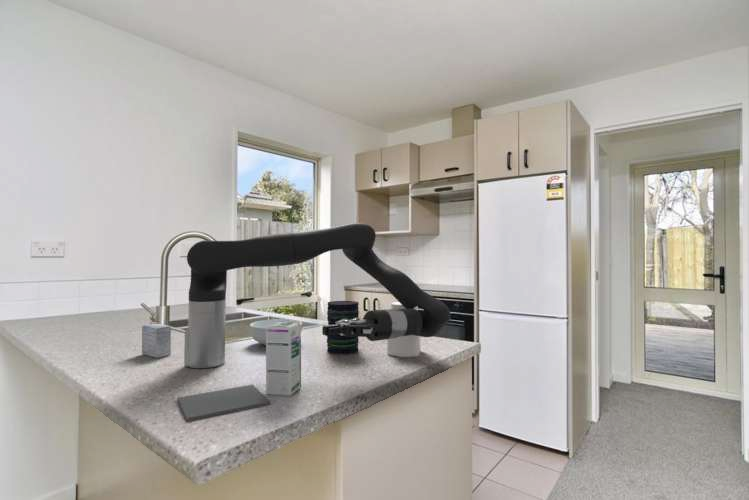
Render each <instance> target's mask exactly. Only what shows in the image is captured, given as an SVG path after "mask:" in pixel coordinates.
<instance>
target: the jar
mask: <svg viewBox="0 0 749 500" xmlns="http://www.w3.org/2000/svg"><path fill="white" fill-rule="evenodd" d="M390 309H406V308H405V307H404V306H403V305H402V304H401V303H400V302H399V301H395V302H391V303H390ZM414 309H416V310H417V311H419V307H418V306H416V307H415V308H414ZM386 347H387V348H386V354H387V355H389V356H393V357H399V358H400V357H401V358H411V357H412V358H413V357H419V356H420V352H421V351H422V349H421V336H415V335H408V336H401V337H397V338H393V339H387V346H386Z"/></svg>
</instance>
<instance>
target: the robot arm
mask: <svg viewBox="0 0 749 500" xmlns="http://www.w3.org/2000/svg"><path fill="white" fill-rule="evenodd" d="M376 237H377V234H376V231H375V229H374V228H373V227H372V226H371V225H369V224H367V223H363V222H351V223H348V224H347V223H346V224H344V225H343V224H342V225H337V226H332V227H327V228H320V229H311V230H302V231H289V232H281V233H280V232H278V233H272V234H266V235H260V236H256V237H252V238H251V237H250V238H247V239H241V240H238V239H237V240H211V239H209V240H207V239H205V240H200V241H197V242H196V243H194V244H193V245H192V246H191V247H190V248H189V249H188V251H187V254H186V255H187V256H186V261H187V265H188V266H189V268H190V284H189V289H188V310H187V311H188V316H187V317H188V321H187V326H188V328H187V329H185V330H184V352H183V353H184V354H183V355H184V359H183V361H184V362H183V364H184V365H183V366H184V367H188V368H191V369H209V368H215V367H218V366H219V367H220V366H222V365H223V364H225V361H226V299H227V298H226V297H227V285H228V283H227V281H228V278H227V277H228V276H227V274H228V273H227V272H228V271H231V270H236V269H241V268H250V267H251V268H253V267H254V268H255V267H256V268H257V267H259V268H265V267H266V268H267V267H269V268H271V267H283V266H292V265H299V264H302V263H305V262H308V261H310V260H313V259H315V258H317V257H318V256H321V255H322V254H325V253H327V252H330V251H335V250H336V251H337V250H342V253H343V254H344V256H345V257H346V258H347V259H348V260H350V261H351V262H352V263H353V264H355V265H356V266H357V267H359V268H360V269H361V270H362V271H364V272H366V273H367V274H368V275H370V276H371V277H372V278H373V279H374V280H375V281H377V282H378V283H379V284H381V286H383V287H384V289H385V290H387V291H388V292H389V293H390V294H391V296H393V297H394V298H395V300H397V302H400V303H401V304H402V305H403V306H404V307H405V308H406V309H391V308H389V309H387V308H386V309H375V310H374V309H373V310H368V311H366V312H365V314H364V316H363V318H361V317H359V318H354V319H352V320H348V319H342V320H340V321H337V322H335V325H328V324H327V325H323V326H322V329H321V330H322V335H323V336H325V337H327V336H332V335H339V334H340V335H341V336H343V335H346V336H347V337H349V336H351V337H352V336H354V337H358V338H359V337H361V338H362V337H363V338H366V339H367V340H368V341H371V342H375V341H376V342H377V341H384V340H385V341H386V340H388V339H393V338H397V337H401V336H408V335H415V336H420V338H421V337H422V338H431V337H434V336H437V335H438V334H439V332H441V330H442V329H444V328H445V327H446V325H447V324H448V323H449V322H450V321H451V318H452V317H451V316H452V314H451V311H450V309H449V307H448V306H447V305H446V304H445V303H444V302H443V301H441V300H440V299H438V298H436V297H434V296H433V295H431V294H429V293H428V292H426V291H424V290H423V289H421V287H420V286H418V285H417V284H416V282H414V281H413V280H412V279H411V278H410V277H409V276H408V275H407V274H406V273H404V272H403V271H401V270H399V269H396V268H395V267H392V266H391V265H389V264H387V263H385V261H383V260H382V259H380V258H379V256H377V254H376V253H375V252H374V250H373V248H374V245H375V242H376ZM416 306H418V308H420V309H422V310H423V311H422V312H421V313H420V312H419V310H418V311H417V310H416V309H414V308H415V307H416Z"/></svg>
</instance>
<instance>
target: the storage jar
mask: <svg viewBox="0 0 749 500" xmlns="http://www.w3.org/2000/svg"><path fill="white" fill-rule="evenodd" d="M359 314H360V310H359V302H358V301H354V300H353V301H352V300H332V301H328V302H327V313H326V315H327V317H326V319H327V320H326V321H327V325H335V322H337V321H340V320H342V319H348V320H352V319H354V318H360V317H359V316H360V315H359ZM359 341H360V340H359V337H354V336H352V337H351V336H349V337H347V336H346V335H343V336H341V335H340V334H339V335H332V336H326V343H327V345H326V346H327V348H326V350H327V351H326V352H327V353H328V354H332V355H340V356H341V355H353V354H357V353H358V352H359Z"/></svg>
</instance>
